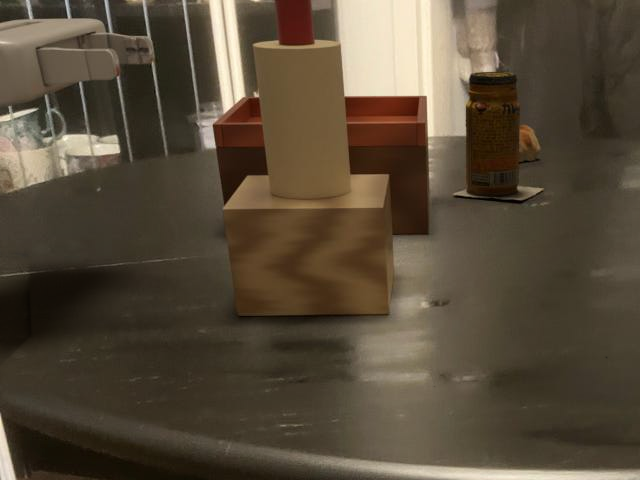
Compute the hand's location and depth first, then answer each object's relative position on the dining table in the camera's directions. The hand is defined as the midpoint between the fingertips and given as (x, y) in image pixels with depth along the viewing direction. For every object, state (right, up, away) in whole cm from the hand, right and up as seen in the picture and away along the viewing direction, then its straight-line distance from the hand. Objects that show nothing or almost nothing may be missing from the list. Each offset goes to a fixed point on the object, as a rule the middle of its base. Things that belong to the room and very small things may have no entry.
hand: (135, 56), depth 72 cm
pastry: (+29, +20, +57) cm, 67 cm away
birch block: (+12, -14, +10) cm, 21 cm away
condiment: (+28, +8, +41) cm, 50 cm away
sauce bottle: (+12, -7, +6) cm, 15 cm away
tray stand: (+10, +3, +33) cm, 35 cm away
